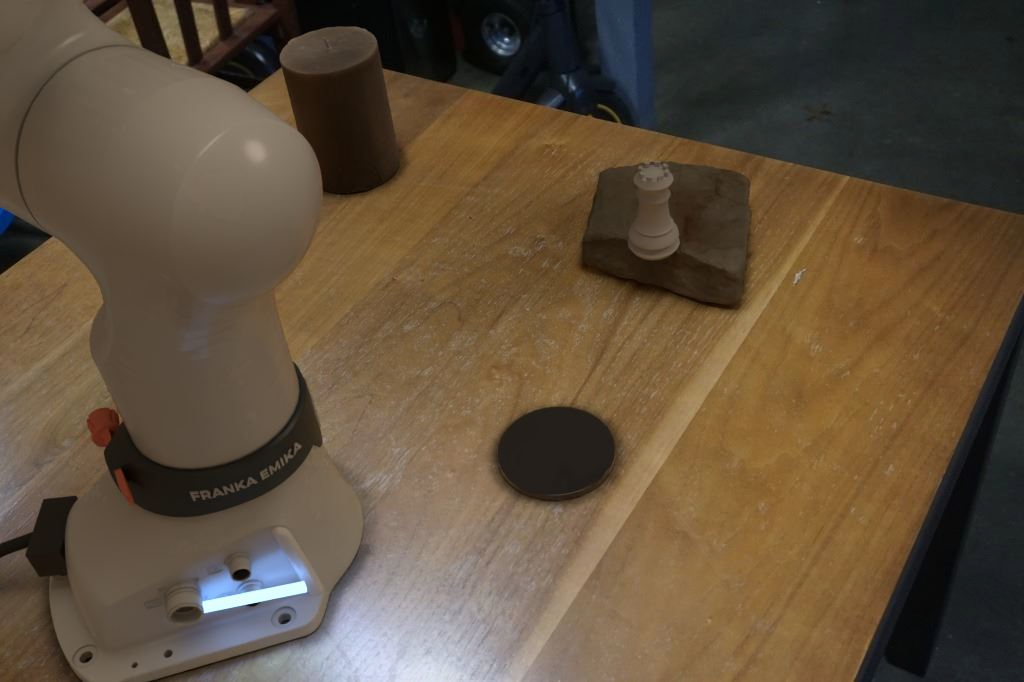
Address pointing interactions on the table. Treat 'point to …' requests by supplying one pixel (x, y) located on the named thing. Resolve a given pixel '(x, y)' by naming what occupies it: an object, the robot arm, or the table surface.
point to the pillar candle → (342, 106)
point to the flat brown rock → (701, 225)
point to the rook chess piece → (653, 214)
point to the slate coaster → (556, 453)
